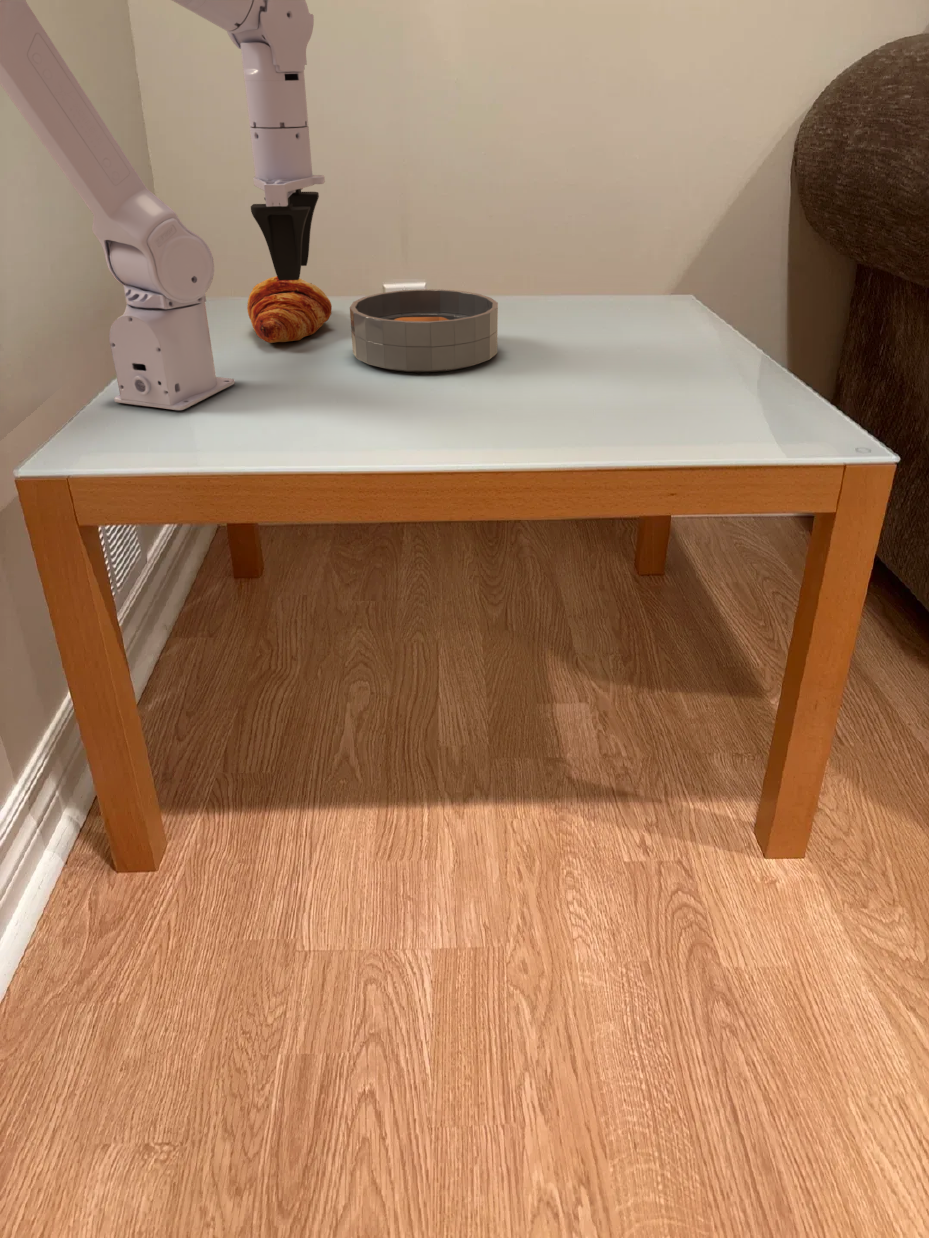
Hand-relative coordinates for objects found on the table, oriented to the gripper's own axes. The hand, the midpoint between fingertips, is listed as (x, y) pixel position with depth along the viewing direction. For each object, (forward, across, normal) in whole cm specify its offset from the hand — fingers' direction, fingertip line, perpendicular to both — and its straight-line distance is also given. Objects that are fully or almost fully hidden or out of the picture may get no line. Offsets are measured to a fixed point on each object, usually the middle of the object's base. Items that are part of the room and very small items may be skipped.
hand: (293, 272), depth 97 cm
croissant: (+10, +14, +3) cm, 17 cm away
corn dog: (+8, +2, -15) cm, 17 cm away
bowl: (+9, +2, -14) cm, 17 cm away
